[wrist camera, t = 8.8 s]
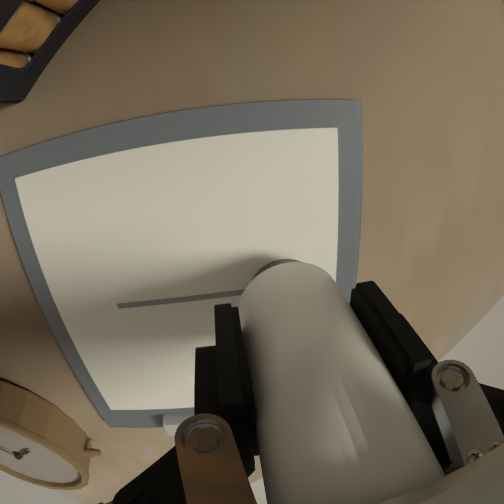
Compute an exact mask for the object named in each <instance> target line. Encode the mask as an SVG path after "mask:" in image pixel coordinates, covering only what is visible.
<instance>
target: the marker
mask: <svg viewBox="0 0 504 504" xmlns="http://www.w3.org/2000/svg"><path fill="white" fill-rule="evenodd" d="M238 309H239V316H240V323H241V330H242V337H243V344H244V351H245V357H246V364H247V371H248V377H249V384H250V390H251V397H252V403H253V410H254V416H255V423H256V437H257V444H258V450H259V456H260V462H261V468H262V474H263V480H264V486H265V492H266V498H267V504H379V503H382V502H385V501H388V500H390V499H393V498H396V497H398V496H401V495H403V494H406V493H408V492H411V491H413V490H416V489H418V488H420V487H423V486H425V485H427V484H429V483H431V482H434V481H436V480H438V479H440V478H442V477H444V476H445V474H444V472H443V470H442V468H441V466H440V464H439V462H438V460H437V458H436V456H435V454H434V452H433V450H432V449H431V447H430V445H429V443H428V441H427V439H426V437H425V435H424V433H423V431H422V430H421V428H420V426H419V424H418V422H417V420H416V418H415V416H414V415H413V413H412V411H411V409H410V407H409V406H408V404H407V402H406V400H405V398H404V397H403V395H402V393H401V391H400V389H399V388H398V386H397V384H396V382H395V381H394V379H393V377H392V375H391V374H390V372H389V370H388V368H387V367H386V365H385V363H384V361H383V360H382V358H381V356H380V355H379V353H378V351H377V349H376V348H375V346H374V344H373V343H372V341H371V339H370V338H369V336H368V334H367V333H366V331H365V329H364V328H363V326H362V324H361V323H360V321H359V319H358V318H357V316H356V315H355V313H354V311H353V310H352V308H351V306H350V305H349V303H348V302H347V300H346V298H345V297H344V295H343V294H342V292H341V290H340V289H339V287H338V286H337V284H336V282H335V281H334V279H333V278H332V277H331V275H330V274H329V273H327V272H326V271H325V270H324V269H322V268H320V267H318V266H316V265H313V264H310V263H305V262H301V261H298V260H294V259H281V260H277V261H273V262H271V263H269V264H267V265H265V266H264V267H262V268H261V269H260V270H259V271H258V272H257V273H256V274H255V275H254V277H253V279H252V280H251V282H250V283H249V284H248V286H247V287H246V288H245V290H244V292H243V293H242V296H241V298H240V302H239V307H238Z"/></svg>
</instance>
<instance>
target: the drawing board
mask: <svg viewBox="0 0 504 504" xmlns="http://www.w3.org/2000/svg"><path fill="white" fill-rule="evenodd" d="M0 191H1V195H2V199H3V203H4V207H5V210H6V214H7V217H8V221H9V224H10V227H11V231H12V234H13V237H14V240H15V243H16V246H17V249H18V252H19V255H20V257H21V260H22V263H23V266H24V268H25V271H26V273H27V276H28V279H29V281H30V284H31V286H32V288H33V291H34V293H35V296H36V298H37V300H38V302H39V305H40V307H41V309H42V311H43V314H44V316H45V318H46V320H47V322H48V324H49V326H50V328H51V330H52V332H53V334H54V336H55V338H56V340H57V342H58V344H59V346H60V348H61V350H62V352H63V354H64V355H65V357H66V359H67V361H68V363H69V365H70V366H71V368H72V370H73V372H74V373H75V375H76V377H77V378H78V380H79V382H80V383H81V385H82V387H83V388H84V390H85V392H86V393H87V395H88V396H89V398H90V400H91V401H92V403H93V404H94V406H95V407H96V409H97V410H98V412H99V413H100V415H101V416H102V418H103V419H104V421H105V422H106V424H107V425H108V426H109V427H126V428H150V427H164V429H165V430H166V432H167V434H168V436H175V433H176V430H177V428H178V426H179V425H180V424H181V423H182V422H183V421H184V420H186V419H187V418H189V417H191V416H194V383H195V349H196V347H205V346H214V345H216V342H215V317H214V305H218V304H225V303H231V306H232V307H237V306H238V307H239V302H240V298H241V296H242V293H243V292H244V290H245V288H246V287H247V286H248V284H249V283H250V282H251V280H252V279H253V277H254V275H255V274H256V273H257V272H258V271H259V270H260V269H261V268H262V267H264V266H265V265H267V264H269V263H271V262H273V261H277V260H281V259H294V260H298V261H301V262H305V263H310V264H313V265H316V266H318V267H320V268H322V269H324V270H325V271H326V272H327V273H329V274H330V275H331V277H332V278H333V279H334V281H335V282H336V284H337V286H338V287H339V289H340V290H341V292H342V294H343V295H344V297H345V298H346V300H347V302H348V303H349V305H350V297H351V290H352V289H353V288H355V287H356V281H357V270H358V258H359V244H360V227H361V206H362V106H361V100H287V101H267V102H253V103H241V104H230V105H221V106H212V107H204V108H196V109H189V110H182V111H176V112H170V113H164V114H158V115H152V116H147V117H142V118H136V119H132V120H127V121H122V122H117V123H113V124H109V125H104V126H100V127H96V128H92V129H88V130H84V131H80V132H77V133H73V134H69V135H66V136H62V137H59V138H56V139H52V140H49V141H46V142H43V143H39V144H36V145H33V146H30V147H27V148H24V149H21V150H19V151H16V152H13V153H10V154H7V155H5V156H2V157H0Z"/></svg>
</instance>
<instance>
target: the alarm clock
mask: <svg viewBox="0 0 504 504" xmlns="http://www.w3.org/2000/svg"><path fill="white" fill-rule="evenodd" d="M99 455H101V451H100V450H98V449H93V448H92V445H91V443H90V441H89V439H88V437H87V435H86V433H85V432H84V431H83V430H82V429H81V428H80V427H79V426H78V425H77V423H76V422H75V421H74V420H73V419H72V418H71V417H69V416H68V415H67V414H65V413H64V412H63V411H61V410H60V409H59V408H57V407H56V406H55V405H53V404H51V403H49V402H48V401H46V400H44V399H42V398H40V397H38V396H36V395H35V394H33V393H31V392H29V391H27V390H24V389H22V388H19V387H17V386H14V385H12V384H9V383H7V382H4V381H0V470H2V471H4V472H6V473H8V474H10V475H12V476H14V477H17V478H19V479H22V480H24V481H27V482H30V483H33V484H36V485H40V486H44V487H48V488H53V489H63V490H73V489H81V488H83V487H84V486H86V485H88V480H89V473H88V471H89V460H90V457H93V456H99Z"/></svg>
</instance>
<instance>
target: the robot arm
mask: <svg viewBox="0 0 504 504" xmlns="http://www.w3.org/2000/svg"><path fill="white" fill-rule="evenodd" d="M350 306H351V308H352V310H353V311H354V313H355V315H356V316H357V318H358V319H359V321H360V323H361V324H362V326H363V328H364V329H365V331H366V333H367V334H368V336H369V338H370V339H371V341H372V343H373V344H374V346H375V348H376V349H377V351H378V353H379V355H380V356H381V358H382V360H383V361H384V363H385V365H386V367H387V368H388V370H389V372H390V374H391V375H392V377H393V379H394V381H395V382H396V384H397V386H398V388H399V389H400V391H401V393H402V395H403V397H404V398H405V400H406V402H407V404H408V406H409V407H410V409H411V411H412V413H413V415H414V416H415V418H416V420H417V422H418V424H419V426H420V428H421V430H422V431H423V433H424V435H425V437H426V439H427V441H428V443H429V445H430V447H431V449H432V450H433V452H434V454H435V456H436V458H437V460H438V462H439V464H440V466H441V468H442V470H443V472H444V474H445V476H444V477H442V478H440V479H438V480H436V481H434V482H431V483H429V484H427V485H425V486H423V487H420V488H418V489H416V490H413V491H411V492H408V493H406V494H403V495H401V496H398V497H396V498H393V499H390V500H388V501H385V502H382V503H379V504H504V390H501V389H498V388H494V387H491V386H487V385H484V384H480V383H478V381H477V380H476V377H475V376H474V374H473V372H472V371H471V369H470V368H469V367H468V366H467V365H465V364H464V363H462V362H459V361H456V360H445V361H442V362H439V363H438V362H437V360H436V359H435V358H434V356H433V355H432V353H431V352H430V351H429V349H428V348H427V347H426V345H425V344H424V343H423V341H422V340H421V338H420V337H419V336H418V334H417V333H416V332H415V331H414V329H413V328H412V327H411V325H410V324H409V323H408V321H407V320H406V319H405V317H404V316H403V315H402V314H400V313H398V311H397V310H396V309H395V307H394V306H393V305H392V304H391V302H390V301H389V300H388V298H387V297H386V296H385V295H384V293H383V292H382V291H381V290H380V288H379V287H378V286H377V285H376V283H375V282H374V281H368V282H362V283H357V284H356V287H355V288H353V289H352V290H351V297H350ZM214 317H215V342H216V345H214V346H205V347H196V349H195V383H194V416H191V417H189V418H187V419H186V420H184V421H183V422H182V423H181V424H180V425H179V426H178V428H177V430H176V433H175V446H174V447H173V448H172V449H171V450H169V451H168V452H167V453H166V454H165V455H163V456H162V457H161V458H160V459H159V460H157V461H156V462H155V463H154V464H152V465H151V466H150V467H149V468H147V469H146V470H145V471H144V472H142V473H141V474H140V475H139V476H137V477H136V478H135V479H133V480H132V481H131V482H130V483H128V484H127V485H126V486H124V487H123V488H122V489H120V490H119V491H118V493H117V494H116V495H115V497H114V499H113V501H111V502H108V503H106V504H257V502H256V500H255V497H254V494H253V492H252V489H251V486H250V483H249V480H248V477H249V476H250V475H251V474H252V473H253V472H254V471H255V461H254V456H257V455H259V450H258V444H257V437H256V423H255V416H254V410H253V403H252V397H251V390H250V384H249V377H248V371H247V364H246V357H245V351H244V344H243V337H242V330H241V323H240V316H239V309H238V306H237V307H232V306H231V303H225V304H218V305H214ZM98 504H104V503H103V502H101V503H98Z"/></svg>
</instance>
